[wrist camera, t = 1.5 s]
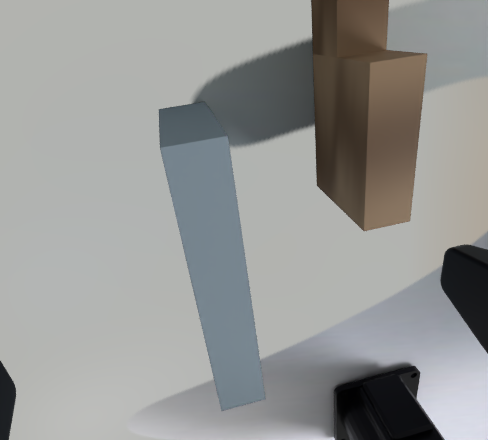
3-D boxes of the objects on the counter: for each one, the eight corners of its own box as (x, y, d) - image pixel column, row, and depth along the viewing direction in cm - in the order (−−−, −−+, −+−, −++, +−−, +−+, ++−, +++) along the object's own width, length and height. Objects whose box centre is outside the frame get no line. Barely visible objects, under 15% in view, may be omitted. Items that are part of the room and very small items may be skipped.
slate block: (239, 311, 22) (265, 399, 17) (205, 318, 22) (221, 410, 16) (204, 101, 16) (227, 135, 11) (158, 109, 16) (160, 147, 11)
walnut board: (353, 178, 19) (409, 221, 15) (316, 185, 19) (363, 231, 15) (362, -286, 12) (481, -468, 8) (302, -284, 12) (390, -472, 7)
